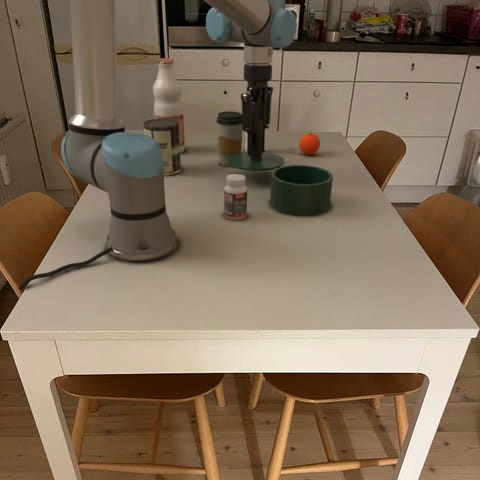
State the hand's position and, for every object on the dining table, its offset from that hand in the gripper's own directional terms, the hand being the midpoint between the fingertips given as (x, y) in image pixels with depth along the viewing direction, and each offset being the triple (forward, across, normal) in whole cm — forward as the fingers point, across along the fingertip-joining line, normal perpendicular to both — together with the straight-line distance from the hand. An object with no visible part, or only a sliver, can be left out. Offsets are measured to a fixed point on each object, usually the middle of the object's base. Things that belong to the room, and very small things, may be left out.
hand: (255, 153), depth 147 cm
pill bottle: (+8, -26, -10) cm, 29 cm away
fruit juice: (+8, +8, +38) cm, 40 cm away
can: (+8, +23, +14) cm, 28 cm away
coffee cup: (+8, +8, +14) cm, 18 cm away
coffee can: (+8, -9, +27) cm, 30 cm away
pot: (+7, -10, -20) cm, 24 cm away
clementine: (+8, +31, -2) cm, 32 cm away
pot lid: (+2, 0, 0) cm, 2 cm away
